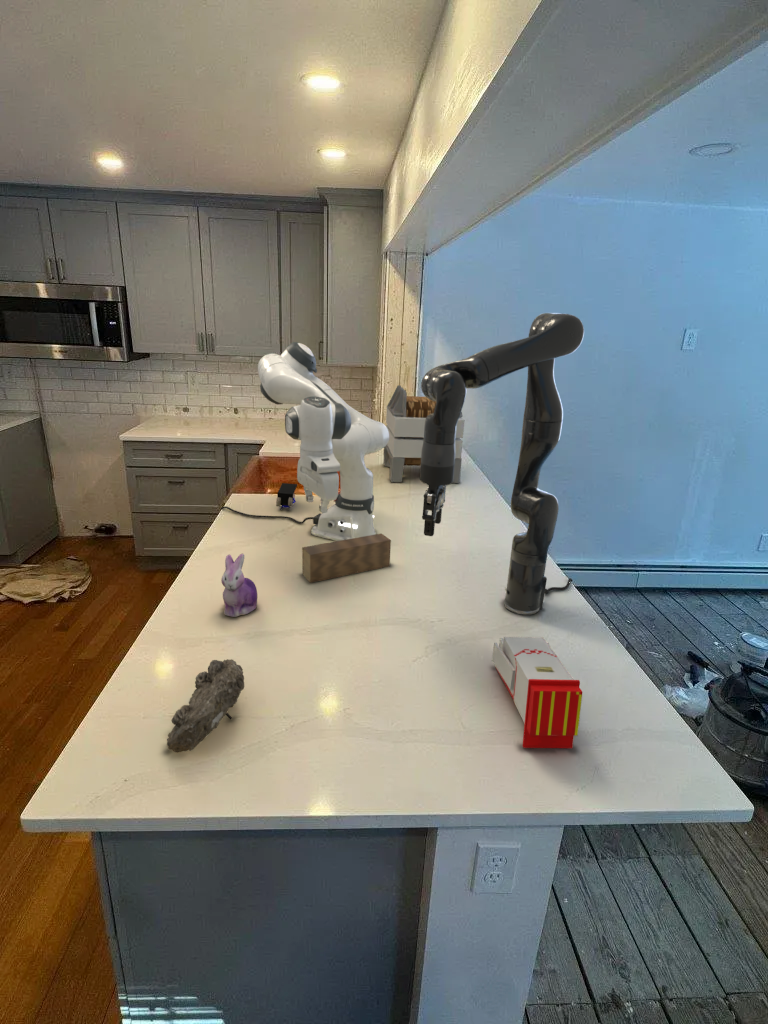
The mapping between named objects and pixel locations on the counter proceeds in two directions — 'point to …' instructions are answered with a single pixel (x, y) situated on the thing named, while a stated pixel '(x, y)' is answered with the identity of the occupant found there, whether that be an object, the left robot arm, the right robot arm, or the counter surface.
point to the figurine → (237, 589)
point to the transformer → (412, 433)
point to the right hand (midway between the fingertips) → (432, 528)
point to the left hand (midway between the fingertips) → (316, 506)
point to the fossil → (206, 705)
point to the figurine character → (286, 495)
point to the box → (345, 557)
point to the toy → (539, 691)
